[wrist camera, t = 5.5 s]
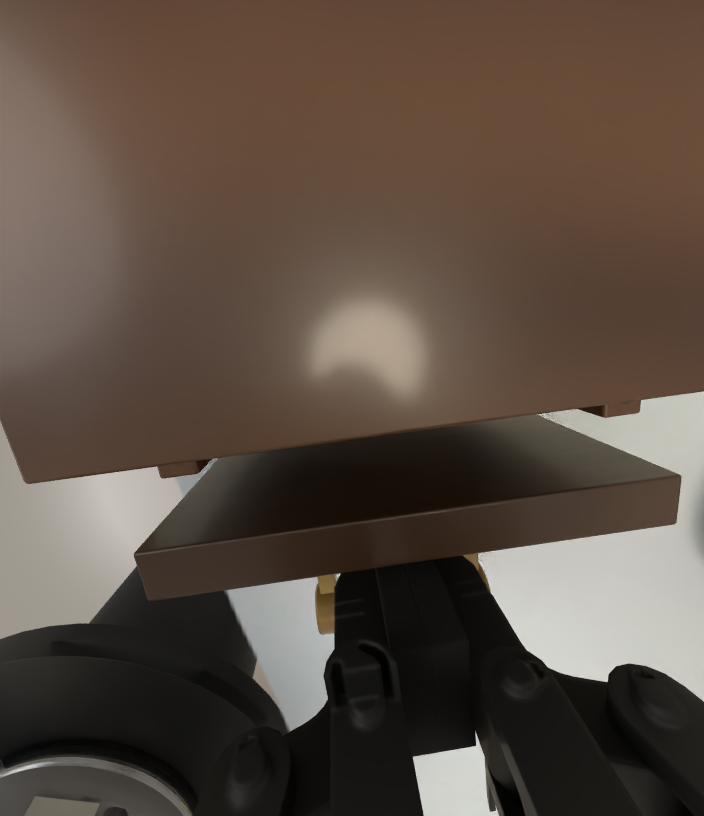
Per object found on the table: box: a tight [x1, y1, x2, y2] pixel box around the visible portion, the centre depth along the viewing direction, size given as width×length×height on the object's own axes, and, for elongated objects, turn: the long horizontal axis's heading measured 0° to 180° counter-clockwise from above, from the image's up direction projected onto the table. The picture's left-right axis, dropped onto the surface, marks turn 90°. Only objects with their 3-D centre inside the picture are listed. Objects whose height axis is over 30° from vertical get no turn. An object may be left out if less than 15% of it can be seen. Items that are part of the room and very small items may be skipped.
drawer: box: [134, 400, 681, 635], centre depth 11 cm, size 18×12×9 cm, turn 7°
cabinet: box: [0, 0, 704, 484], centre depth 9 cm, size 14×13×11 cm
